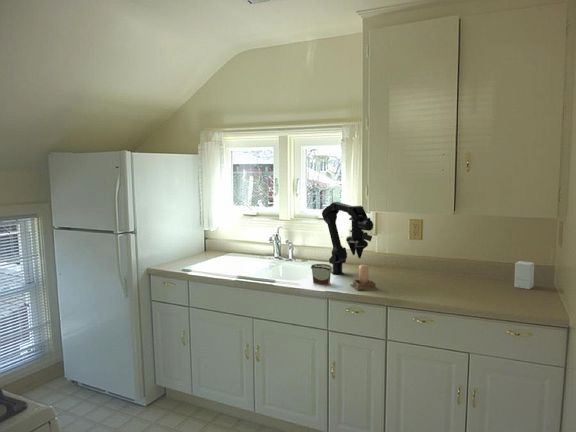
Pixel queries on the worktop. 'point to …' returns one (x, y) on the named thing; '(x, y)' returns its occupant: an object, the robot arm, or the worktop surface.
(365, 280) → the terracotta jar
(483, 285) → the worktop surface
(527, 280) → the supplement box
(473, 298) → the worktop surface
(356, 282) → the walnut holder
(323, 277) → the food container
